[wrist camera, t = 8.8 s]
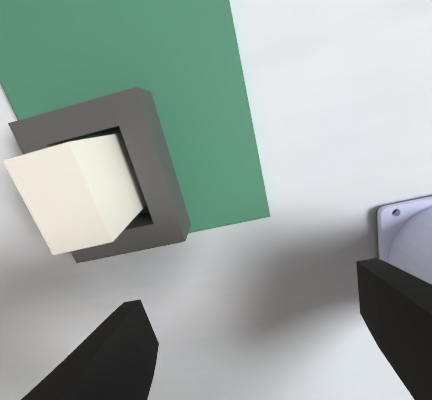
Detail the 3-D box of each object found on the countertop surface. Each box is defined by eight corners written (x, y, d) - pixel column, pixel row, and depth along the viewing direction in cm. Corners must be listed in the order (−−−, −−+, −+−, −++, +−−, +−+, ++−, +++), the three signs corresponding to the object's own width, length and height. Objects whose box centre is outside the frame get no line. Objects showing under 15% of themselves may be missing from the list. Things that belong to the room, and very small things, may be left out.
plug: (127, 131, 15) (68, 141, 10) (151, 198, 17) (112, 241, 11) (83, 143, 16) (2, 160, 10) (111, 208, 17) (53, 255, 11)
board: (213, -79, 12) (209, -136, 9) (269, 213, 17) (277, 233, 14) (-28, 7, 14) (-93, -20, 11) (86, 251, 19) (61, 275, 16)
